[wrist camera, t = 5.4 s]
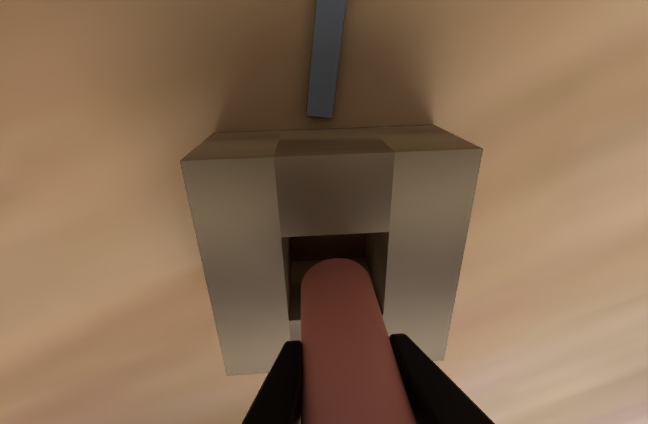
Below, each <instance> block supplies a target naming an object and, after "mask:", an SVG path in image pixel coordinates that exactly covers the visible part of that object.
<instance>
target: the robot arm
mask: <svg viewBox="0 0 648 424" xmlns="http://www.w3.org/2000/svg"><path fill="white" fill-rule="evenodd" d="M389 339H390V342H391V345H392V348H393V351H394V355H395V358H396V361H397V364H398V367H399V370H400V374H401V377H402V380H403V383H404V386H405V389H406V392H407V396H408V399H409V402H410V405H411V408H412V411H413V414H414V418H415V421H416V424H495V423H494V422H493V421H492V420H491V419H490V418H489V417H488V416H487V415H486V414H485V413H484V412H483V411H482V410H481V409H480V408H479V407H478V406H477V405H476V404H475V403H474V402H473V401H472V400H471V399H470V398H469V397H468V396H467V395H466V394H465V393H464V392H463V391H462V390H461V389H460V388H459V387H458V386H457V385H456V384H455V383H454V382H453V381H452V380H451V379H450V378H449V377H448V376H447V375H446V374H445V373H444V372H443V371H442V370H441V369H440V368H439V367H438V366H437V365H436V364H435V363H434V362H433V361H432V360H431V359H430V358H429V357H428V356H427V355H426V354H425V353H424V352H423V351H422V350H421V349H420V348H419V347H418V346H417V345H416V344H415V343H414V342H413V341H412V340H411V339H410V338H409V337H408V336H407V335H406V334H404V333H398V334H391V335H390V336H389ZM242 424H301V341H299V340H293V341H286V342H285V343H284V345H283V347H282V349H281V351H280V353H279V354H278V356H277V358H276V360H275V362H274V364H273V366H272V368H271V369H270V371H269V373H268V375H267V377H266V379H265V381H264V383H263V384H262V386H261V388H260V390H259V392H258V394H257V396H256V398H255V399H254V401H253V403H252V405H251V407H250V409H249V411H248V413H247V414H246V416H245V418H244V420H243V422H242Z"/></svg>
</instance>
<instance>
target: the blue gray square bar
mask: <svg viewBox="0 0 648 424" xmlns="http://www.w3.org/2000/svg"><path fill="white" fill-rule="evenodd" d="M345 8H346V0H316V11H315V22H314V33H313V44H312V56H311V67H310V78H309V89H308V100H307V111H306V115H308V116H317V117H326V118H332V114H333V106H334V97H335V89H336V81H337V73H338V65H339V57H340V48H341V40H342V32H343V24H344V16H345Z"/></svg>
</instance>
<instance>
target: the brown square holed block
mask: <svg viewBox="0 0 648 424" xmlns="http://www.w3.org/2000/svg"><path fill="white" fill-rule="evenodd" d="M482 151H483V149H482V148H480V147H478V146H476V145H474V144H472V143H470V142H468V141H466V140H464V139H462V138H460V137H458V136H456V135H454V134H452V133H450V132H448V131H446V130H443V129H441V128H439V127H437V126H435V125H419V126H392V127H364V128H337V129H310V130H282V131H255V132H228V133H213V134H212V135H211V136H210V137H208V138H207V139H206V140H205V141H203V142H202V143H201V144H200V145H199V146H197V147H196V148H195V149H194V150H193V151H191V152H190V153H189V154H188V155H187V156H185V157H184V158H183V159H182V160H180V164H181V168H182V173H183V177H184V182H185V187H186V191H187V196H188V200H189V205H190V209H191V214H192V219H193V223H194V228H195V232H196V237H197V241H198V246H199V251H200V255H201V260H202V264H203V269H204V273H205V278H206V283H207V287H208V292H209V296H210V301H211V305H212V310H213V315H214V319H215V324H216V328H217V333H218V337H219V342H220V347H221V351H222V356H223V360H224V365H225V370H226V374H227V376H230V375H245V374H259V373H269V371H270V369H271V368H272V366H273V364H274V362H275V360H276V358H277V356H278V354H279V353H280V351H281V349H282V347H283V345H284V343H285V342H286V341H293V340H299V341H301V283H302V280H303V278H304V276H305V274H306V273H307V272H308V270H309V269H310V268H312V267H313V266H314V265H316V264H317V263H319V262H322V261H324V260H307V261H292V259H291V247H290V237H299V236H318V235H337V234H357V233H366V242H365V257H362V258H344V259H349V260H352V261H355V262H357V263H358V264H360V265H361V266H362V267H363V268H365V270H366V271H367V272H368V274H369V276H370V279H371V282H372V285H373V289H374V292H375V295H376V298H377V301H378V304H379V307H380V311H381V314H382V317H383V320H384V323H385V326H386V329H387V333H388V336H390V335H391V334H398V333H404V334H406V335H407V336H408V337H409V338H410V339H411V340H412V341H413V342H414V343H415V344H416V345H417V346H418V347H419V348H420V349H421V350H422V351H423V352H424V353H425V354H426V355H427V356H428V357H429V358H430V359H431V360H432V361H443V360H444V356H445V350H446V345H447V340H448V334H449V329H450V323H451V318H452V313H453V307H454V302H455V297H456V291H457V286H458V280H459V275H460V270H461V264H462V259H463V253H464V248H465V243H466V237H467V232H468V227H469V221H470V216H471V210H472V205H473V200H474V194H475V189H476V184H477V178H478V173H479V167H480V162H481V157H482ZM325 260H328V259H325Z"/></svg>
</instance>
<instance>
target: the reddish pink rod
mask: <svg viewBox="0 0 648 424" xmlns="http://www.w3.org/2000/svg"><path fill="white" fill-rule="evenodd" d="M301 424H416V421H415V418H414V414H413V411H412V408H411V405H410V402H409V399H408V396H407V392H406V389H405V386H404V383H403V380H402V377H401V374H400V370H399V367H398V364H397V361H396V358H395V355H394V351H393V348H392V345H391V342H390V339H389V336H388V333H387V329H386V326H385V323H384V320H383V317H382V314H381V311H380V307H379V304H378V301H377V298H376V295H375V292H374V289H373V285H372V282H371V279H370V276H369V274H368V272H367V271H366V270H365V268H363V267H362V266H361V265H360V264H358V263H357V262H355V261H352V260H349V259H344V258H333V259H328V260H324V261H322V262H319V263H317V264H316V265H314V266H313V267H312V268H310V269H309V270H308V272H307V273H306V274H305V276H304V278H303V280H302V283H301Z"/></svg>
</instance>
